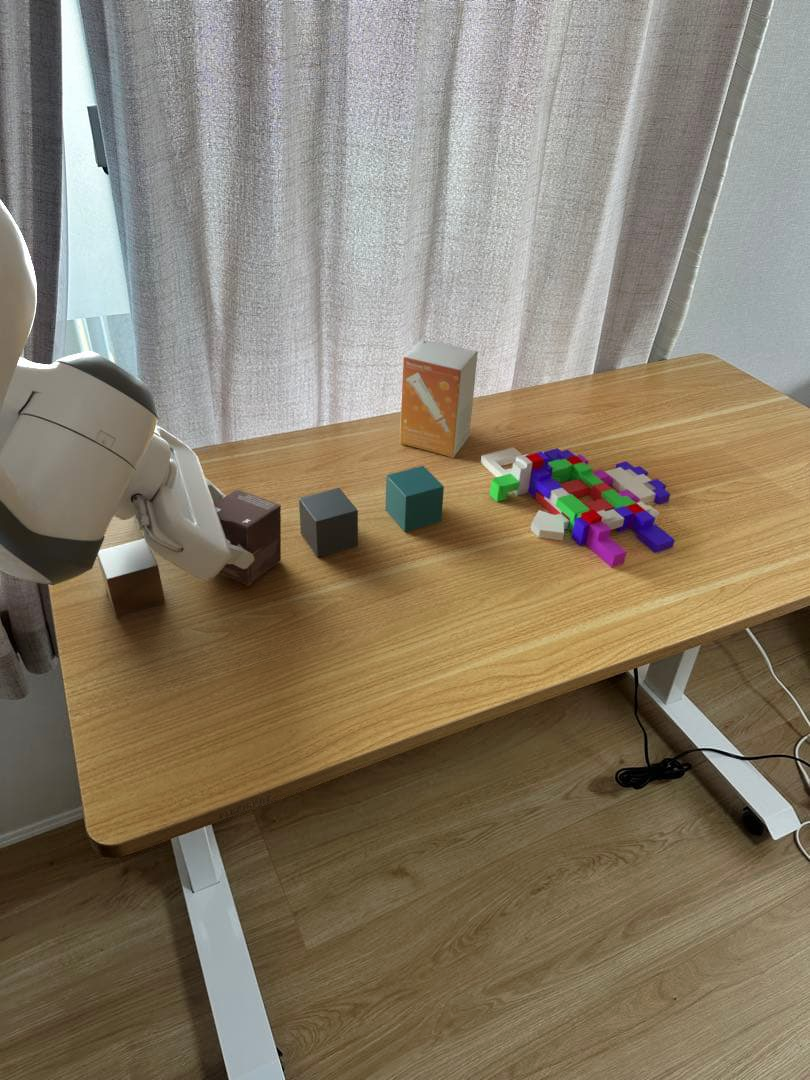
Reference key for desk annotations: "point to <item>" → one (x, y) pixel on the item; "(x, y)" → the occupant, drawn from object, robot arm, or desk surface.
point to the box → (251, 532)
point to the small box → (437, 397)
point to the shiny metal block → (131, 577)
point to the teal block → (414, 498)
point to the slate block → (328, 522)
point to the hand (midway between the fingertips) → (239, 533)
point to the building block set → (569, 512)
